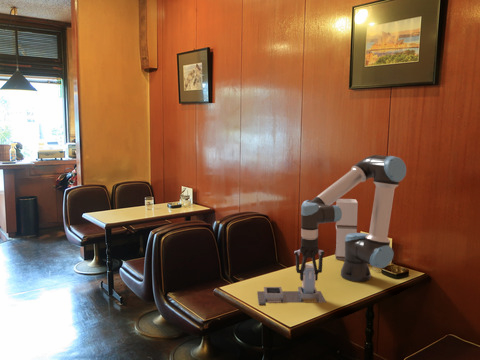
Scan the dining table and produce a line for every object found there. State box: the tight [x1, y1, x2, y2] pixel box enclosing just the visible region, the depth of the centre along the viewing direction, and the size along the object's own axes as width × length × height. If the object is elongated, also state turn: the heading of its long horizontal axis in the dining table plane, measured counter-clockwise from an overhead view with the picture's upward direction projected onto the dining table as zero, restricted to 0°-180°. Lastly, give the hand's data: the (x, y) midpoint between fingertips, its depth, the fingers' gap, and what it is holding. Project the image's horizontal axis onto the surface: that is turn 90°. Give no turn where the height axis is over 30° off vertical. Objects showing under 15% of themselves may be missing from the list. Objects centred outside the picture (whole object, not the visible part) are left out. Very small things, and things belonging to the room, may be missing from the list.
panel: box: [257, 286, 327, 306], centre depth 177 cm, size 30×12×4 cm, turn 90°
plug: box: [303, 263, 314, 293], centre depth 175 cm, size 4×6×15 cm
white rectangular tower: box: [334, 198, 359, 261], centre depth 233 cm, size 11×11×35 cm
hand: (308, 287), depth 177 cm, fingers closed on plug, 4 cm apart
